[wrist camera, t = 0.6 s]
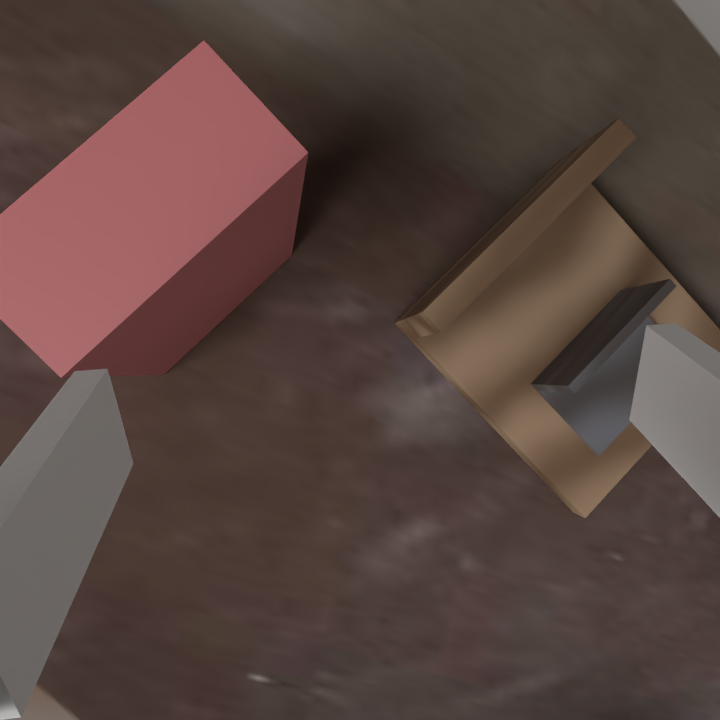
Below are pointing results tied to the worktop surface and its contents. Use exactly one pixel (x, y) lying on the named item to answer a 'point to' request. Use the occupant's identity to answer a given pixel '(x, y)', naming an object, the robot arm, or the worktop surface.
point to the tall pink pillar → (152, 226)
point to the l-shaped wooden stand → (557, 326)
